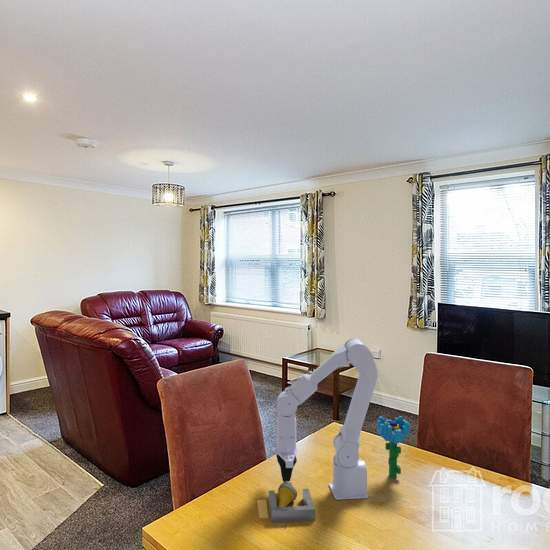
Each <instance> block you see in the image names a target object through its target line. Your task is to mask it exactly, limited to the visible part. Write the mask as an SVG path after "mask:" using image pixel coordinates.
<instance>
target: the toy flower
mask: <svg viewBox="0 0 550 550" xmlns="http://www.w3.org/2000/svg"><path fill="white" fill-rule="evenodd" d="M376 423H377V424H376V425H377V428H376V430H377V433H378V435H379V436H381V438H382V439H383V440H384V441H385V442H386V443H385V450H386V451H388V461H387V462H388V476H389V478H390V479H397V478H398V477H397V476H398V475H401V474H402V473H401V470H402V468H401V466H400V465H398V457H400V454H401V455H402V447H401V446H398V444H400V443H401V442H403V441H404V439H405V438H407V436H408V435H409V434H410V433H411V424H410V423H409V421H407V420H406V419H403V416H401V415H399V416H398V417H394V420H392V419H385V417H384V416H379V417H378V420H377V422H376Z"/></svg>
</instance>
